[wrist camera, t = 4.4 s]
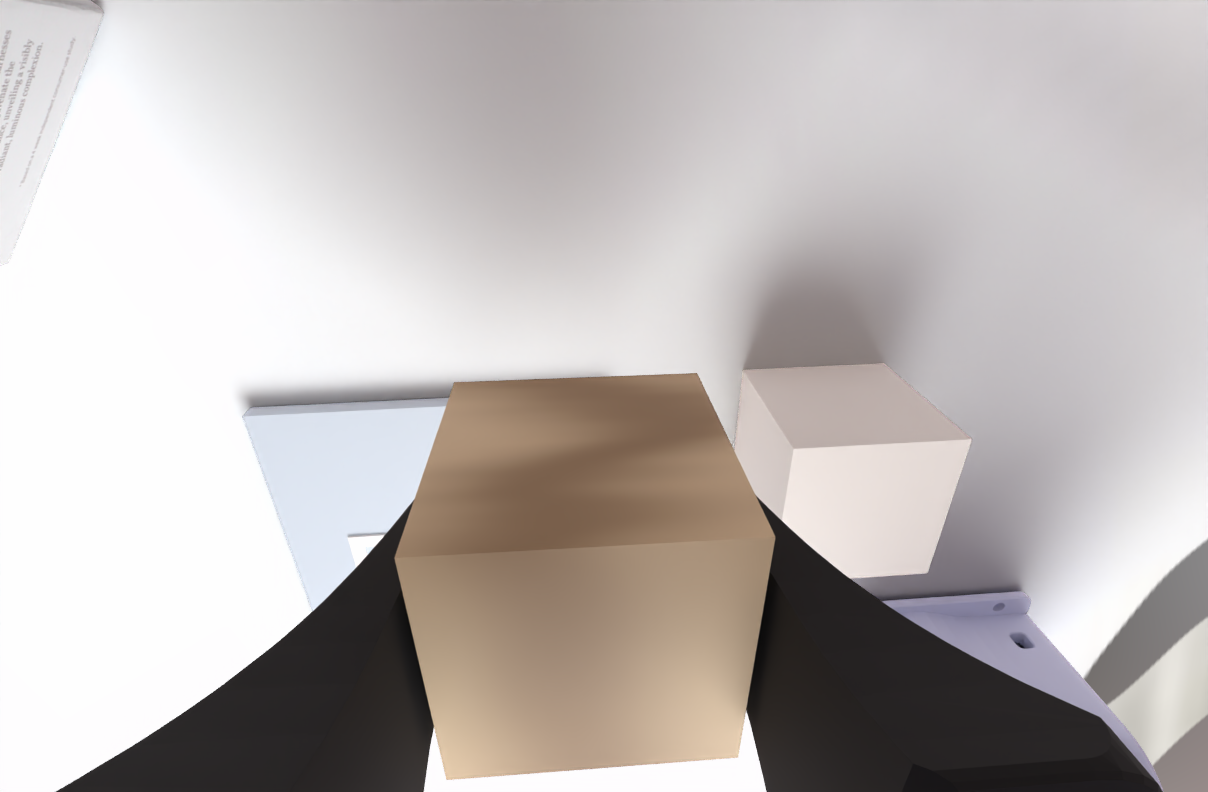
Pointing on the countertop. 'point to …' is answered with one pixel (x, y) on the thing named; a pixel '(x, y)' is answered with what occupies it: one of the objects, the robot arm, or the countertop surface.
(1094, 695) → the robot arm
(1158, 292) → the countertop surface
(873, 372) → the top cube
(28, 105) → the small box
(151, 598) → the countertop surface
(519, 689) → the base cube
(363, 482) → the board
